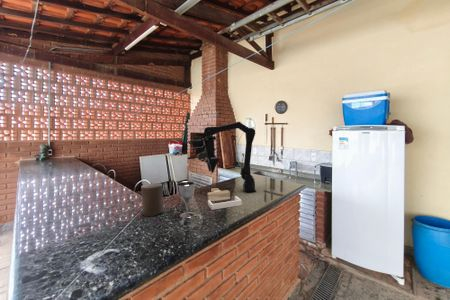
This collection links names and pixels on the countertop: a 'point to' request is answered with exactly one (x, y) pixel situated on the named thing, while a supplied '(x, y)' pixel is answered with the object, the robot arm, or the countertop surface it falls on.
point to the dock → (225, 204)
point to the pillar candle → (152, 199)
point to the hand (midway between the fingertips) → (211, 172)
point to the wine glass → (186, 195)
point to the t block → (218, 195)
